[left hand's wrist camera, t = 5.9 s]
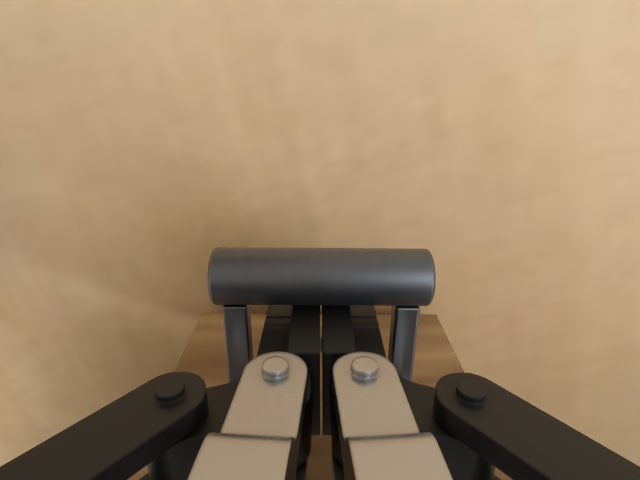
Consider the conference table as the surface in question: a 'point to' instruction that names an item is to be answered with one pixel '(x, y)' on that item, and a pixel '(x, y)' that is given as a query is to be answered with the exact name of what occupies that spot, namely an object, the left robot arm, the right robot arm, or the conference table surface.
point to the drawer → (320, 289)
